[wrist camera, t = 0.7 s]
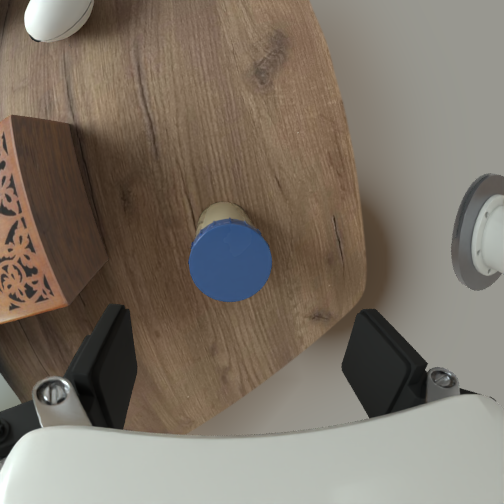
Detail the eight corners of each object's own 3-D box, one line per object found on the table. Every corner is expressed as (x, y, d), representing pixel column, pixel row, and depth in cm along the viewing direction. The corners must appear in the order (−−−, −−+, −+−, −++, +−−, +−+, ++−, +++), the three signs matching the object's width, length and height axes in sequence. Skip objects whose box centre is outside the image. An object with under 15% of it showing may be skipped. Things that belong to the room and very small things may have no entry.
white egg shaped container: (43, 16, 17) (12, -7, 10) (100, -14, 17) (78, -46, 10) (48, 82, 20) (9, 68, 13) (110, 50, 20) (82, 23, 13)
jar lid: (282, 245, 20) (288, 253, 19) (239, 303, 21) (241, 315, 19) (218, 202, 19) (219, 206, 17) (175, 267, 20) (172, 276, 18)
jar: (260, 220, 28) (283, 251, 19) (230, 262, 29) (240, 309, 20) (216, 191, 26) (219, 208, 18) (187, 235, 27) (176, 273, 18)
